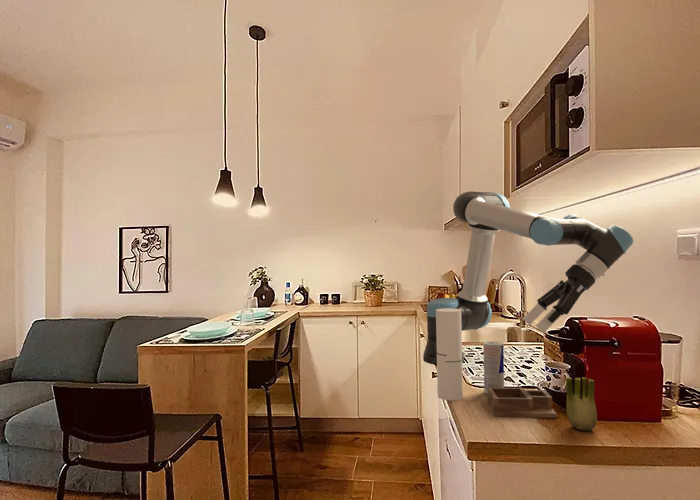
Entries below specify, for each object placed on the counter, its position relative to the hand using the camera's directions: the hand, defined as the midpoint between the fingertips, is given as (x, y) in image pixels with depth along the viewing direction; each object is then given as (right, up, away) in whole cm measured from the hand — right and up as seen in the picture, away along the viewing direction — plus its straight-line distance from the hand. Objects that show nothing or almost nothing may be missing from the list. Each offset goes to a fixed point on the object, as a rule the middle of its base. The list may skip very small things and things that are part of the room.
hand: (532, 325), depth 131 cm
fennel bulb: (+2, -20, -25) cm, 32 cm away
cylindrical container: (-24, -21, 0) cm, 32 cm away
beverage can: (-10, -20, +2) cm, 23 cm away
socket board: (-8, -20, -11) cm, 24 cm away
